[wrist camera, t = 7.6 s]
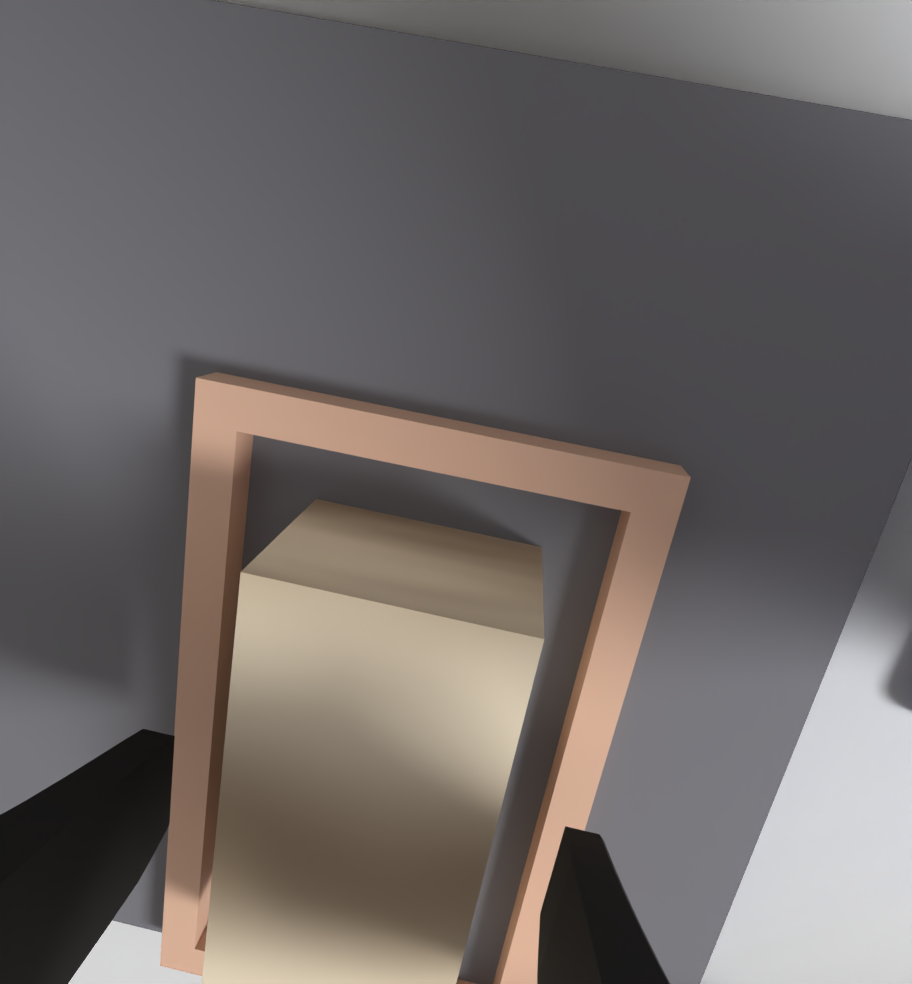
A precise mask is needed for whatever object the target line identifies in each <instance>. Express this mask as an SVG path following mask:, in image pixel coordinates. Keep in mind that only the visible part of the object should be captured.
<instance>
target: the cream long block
mask: <svg viewBox="0 0 912 984" xmlns="http://www.w3.org/2000/svg"><path fill="white" fill-rule="evenodd" d="M543 643H544V610H543V575H542V547H538V546H534V545H529V544H525V543H520V542H515V541H511V540H506V539H501V538H497V537H492V536H487V535H483V534H478V533H473V532H469V531H464V530H459V529H455V528H450V527H445V526H441V525H436V524H431V523H427V522H422V521H417V520H413V519H408V518H403V517H399V516H394V515H389V514H385V513H380V512H375V511H371V510H366V509H361V508H357V507H352V506H347V505H343V504H338V503H333V502H329V501H324V500H320V499H315V500H314V501H313V502H312V503H311V504H310V505H309V506H308V507H307V508H306V509H305V510H304V511H303V512H302V513H301V514H300V515H299V516H298V517H297V518H296V519H295V520H294V521H293V522H292V523H291V524H290V525H289V526H288V527H287V528H286V529H285V530H283V531H282V532H281V533H280V534H279V535H278V536H277V537H276V538H275V539H274V540H273V541H272V542H271V543H270V544H269V545H268V546H267V547H266V548H265V549H264V550H263V551H262V552H261V553H260V554H259V555H258V556H257V557H256V558H255V559H254V560H253V561H252V562H251V563H249V564H248V565H247V566H246V567H245V568H244V569H243V570H242V571H241V574H240V584H239V595H238V606H237V616H236V627H235V637H234V648H233V659H232V669H231V680H230V690H229V701H228V711H227V722H226V733H225V743H224V754H223V764H222V775H221V786H220V796H219V807H218V817H217V828H216V839H215V849H214V860H213V870H212V881H211V892H210V902H209V913H208V923H207V934H206V944H205V955H204V966H203V976H202V984H456V983H457V979H458V975H459V971H460V967H461V963H462V959H463V955H464V951H465V947H466V943H467V940H468V936H469V932H470V928H471V924H472V920H473V916H474V912H475V908H476V904H477V901H478V897H479V893H480V889H481V885H482V881H483V877H484V873H485V869H486V865H487V861H488V858H489V854H490V850H491V846H492V842H493V838H494V834H495V830H496V826H497V822H498V818H499V815H500V811H501V807H502V803H503V799H504V795H505V791H506V787H507V783H508V779H509V776H510V772H511V768H512V764H513V760H514V756H515V752H516V748H517V744H518V740H519V736H520V733H521V729H522V725H523V721H524V717H525V713H526V709H527V705H528V701H529V697H530V693H531V690H532V686H533V682H534V678H535V674H536V670H537V666H538V662H539V658H540V654H541V651H542V647H543Z"/></svg>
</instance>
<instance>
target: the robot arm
mask: <svg viewBox="0 0 912 984" xmlns="http://www.w3.org/2000/svg"><path fill="white" fill-rule="evenodd" d="M174 741H175V736H173V735H168V734H164V733H160V732H155V731H151V730H147V729H142V730H140V731H138V732H137V733H135V734H133V735H132V736H130V737H128V738H127V739H125V740H123V741H122V742H120V743H119V744H117V745H115V746H114V747H112V748H111V749H109V750H107V751H106V752H104V753H103V754H101V755H99V756H98V757H96V758H95V759H93V760H91V761H90V762H88V763H87V764H85V765H83V766H82V767H80V768H79V769H77V770H75V771H74V772H72V773H71V774H69V775H67V776H66V777H64V778H62V779H61V780H59V781H57V782H56V783H54V784H52V785H51V786H49V787H47V788H46V789H44V790H42V791H41V792H39V793H37V794H36V795H34V796H32V797H31V798H29V799H27V800H26V801H24V802H22V803H21V804H19V805H17V806H15V807H13V808H12V809H10V810H8V811H6V812H4V813H2V814H1V815H0V984H68V983H69V981H70V980H71V978H72V977H73V975H74V974H75V973H76V971H77V970H78V968H79V967H80V965H81V964H82V963H83V961H84V960H85V958H86V957H87V955H88V954H89V953H90V951H91V950H92V948H93V947H94V945H95V944H96V943H97V941H98V940H99V938H100V937H101V935H102V934H103V933H104V931H105V930H106V928H107V927H108V925H109V924H110V922H111V921H112V920H113V918H114V917H115V915H116V914H117V912H118V911H119V909H120V908H121V906H122V905H123V904H124V902H125V901H126V899H127V898H128V896H129V895H130V893H131V892H132V890H133V889H134V887H135V886H136V885H137V883H138V882H139V880H140V878H141V876H142V874H143V873H144V871H145V869H146V867H147V866H148V864H149V862H150V860H151V858H152V857H153V855H154V853H155V851H156V849H157V847H158V845H159V843H160V842H161V840H162V838H163V836H164V834H165V832H166V830H167V828H168V826H169V823H170V806H171V790H172V773H173V757H174ZM537 984H670V982H669V980H668V978H667V976H666V974H665V973H664V971H663V969H662V967H661V965H660V963H659V961H658V959H657V957H656V955H655V953H654V951H653V949H652V947H651V945H650V943H649V941H648V939H647V937H646V935H645V933H644V931H643V929H642V927H641V925H640V923H639V921H638V918H637V916H636V914H635V912H634V910H633V908H632V906H631V903H630V901H629V899H628V897H627V894H626V892H625V890H624V888H623V886H622V883H621V881H620V879H619V876H618V874H617V872H616V869H615V867H614V865H613V862H612V860H611V857H610V855H609V852H608V850H607V847H606V845H605V842H604V840H603V839H602V837H601V836H600V834H597V833H592V832H588V831H584V830H579V829H575V828H571V827H566V826H565V829H564V832H563V836H562V839H561V843H560V846H559V850H558V853H557V857H556V860H555V864H554V867H553V871H552V874H551V877H550V881H549V884H548V888H547V891H546V895H545V898H544V902H543V905H542V909H541V912H540V926H539V945H538V970H537Z"/></svg>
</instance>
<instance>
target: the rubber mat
mask: <svg viewBox="0 0 912 984" xmlns="http://www.w3.org/2000/svg"><path fill="white" fill-rule="evenodd" d="M215 372H218V373H223V374H228V375H233V376H238V377H243V378H248V379H253V380H258V381H263V382H268V383H273V384H278V385H283V386H288V387H293V388H298V389H303V390H308V391H313V392H318V393H323V394H328V395H333V396H338V397H343V398H348V399H353V400H358V401H363V402H368V403H373V404H378V405H382V406H387V407H392V408H397V409H402V410H407V411H412V412H417V413H422V414H427V415H432V416H437V417H442V418H447V419H452V420H457V421H462V422H467V423H472V424H477V425H482V426H487V427H492V428H497V429H502V430H507V431H512V432H517V433H522V434H527V435H532V436H537V437H542V438H547V439H552V440H556V441H561V442H566V443H571V444H576V445H581V446H586V447H591V448H596V449H601V450H606V451H611V452H616V453H621V454H626V455H631V456H636V457H641V458H646V459H651V460H656V461H661V462H666V463H671V464H676V465H681V466H682V468H683V469H684V470H685V471H686V472H687V474H688V475H689V476H690V477H691V479H690V482H689V485H688V489H687V492H686V495H685V499H684V502H683V505H682V509H681V512H680V515H679V519H678V522H677V525H676V528H675V532H674V535H673V538H672V542H671V545H670V548H669V552H668V555H667V558H666V562H665V565H664V568H663V572H662V575H661V578H660V582H659V585H658V588H657V592H656V595H655V598H654V602H653V605H652V608H651V612H650V615H649V618H648V622H647V625H646V628H645V632H644V635H643V638H642V642H641V645H640V648H639V651H638V655H637V658H636V661H635V665H634V668H633V671H632V675H631V678H630V681H629V685H628V688H627V691H626V695H625V698H624V701H623V705H622V708H621V711H620V715H619V718H618V721H617V725H616V728H615V731H614V735H613V738H612V741H611V745H610V748H609V751H608V755H607V758H606V761H605V765H604V768H603V771H602V774H601V778H600V781H599V784H598V788H597V791H596V794H595V798H594V801H593V804H592V808H591V811H590V814H589V818H588V821H587V824H586V828H585V831H588V832H592V833H597V834H600V836H601V837H602V839H603V840H604V842H605V845H606V847H607V850H608V852H609V855H610V857H611V860H612V862H613V865H614V867H615V869H616V872H617V874H618V876H619V879H620V881H621V883H622V886H623V888H624V890H625V892H626V894H627V897H628V899H629V901H630V903H631V906H632V908H633V910H634V912H635V914H636V916H637V918H638V921H639V923H640V925H641V927H642V929H643V931H644V933H645V935H646V937H647V939H648V941H649V943H650V945H651V947H652V949H653V951H654V953H655V955H656V957H657V959H658V961H659V963H660V965H661V967H662V969H663V971H664V973H665V974H666V976H667V978H668V980H669V982H670V984H700V982H701V979H702V977H703V974H704V972H705V969H706V967H707V964H708V962H709V960H710V957H711V955H712V952H713V950H714V947H715V945H716V942H717V940H718V937H719V935H720V932H721V930H722V927H723V925H724V922H725V920H726V917H727V915H728V912H729V910H730V907H731V905H732V902H733V900H734V897H735V895H736V892H737V890H738V888H739V885H740V883H741V880H742V878H743V875H744V873H745V870H746V868H747V865H748V863H749V860H750V858H751V855H752V853H753V850H754V848H755V845H756V843H757V840H758V838H759V835H760V833H761V830H762V828H763V825H764V823H765V821H766V818H767V816H768V813H769V811H770V808H771V806H772V803H773V801H774V798H775V796H776V793H777V791H778V788H779V786H780V783H781V781H782V778H783V776H784V773H785V771H786V768H787V766H788V763H789V761H790V758H791V756H792V754H793V751H794V749H795V746H796V744H797V741H798V739H799V736H800V734H801V731H802V729H803V726H804V724H805V721H806V719H807V716H808V714H809V711H810V709H811V706H812V704H813V701H814V699H815V696H816V694H817V691H818V689H819V687H820V684H821V682H822V679H823V677H824V674H825V672H826V669H827V667H828V664H829V662H830V659H831V657H832V654H833V652H834V649H835V647H836V644H837V642H838V639H839V637H840V634H841V632H842V629H843V627H844V624H845V622H846V619H847V617H848V615H849V612H850V610H851V607H852V605H853V602H854V600H855V597H856V595H857V592H858V590H859V587H860V585H861V582H862V580H863V577H864V575H865V572H866V570H867V567H868V565H869V562H870V560H871V557H872V555H873V552H874V550H875V548H876V545H877V543H878V540H879V538H880V535H881V533H882V530H883V528H884V525H885V523H886V520H887V518H888V515H889V513H890V510H891V508H892V505H893V503H894V500H895V498H896V495H897V493H898V490H899V488H900V485H901V483H902V481H903V478H904V476H905V473H906V471H907V468H908V466H909V463H910V461H911V458H912V120H909V119H903V118H897V117H891V116H885V115H879V114H874V113H868V112H862V111H856V110H850V109H844V108H839V107H833V106H827V105H821V104H815V103H809V102H804V101H798V100H792V99H786V98H780V97H774V96H769V95H763V94H757V93H751V92H745V91H739V90H734V89H728V88H722V87H716V86H710V85H704V84H699V83H693V82H687V81H681V80H675V79H669V78H664V77H658V76H652V75H646V74H640V73H634V72H628V71H623V70H617V69H611V68H605V67H599V66H593V65H588V64H582V63H576V62H570V61H564V60H558V59H553V58H547V57H541V56H535V55H529V54H523V53H518V52H512V51H506V50H500V49H494V48H488V47H483V46H477V45H471V44H465V43H459V42H453V41H448V40H442V39H436V38H430V37H424V36H418V35H412V34H407V33H401V32H395V31H389V30H383V29H377V28H372V27H366V26H360V25H354V24H348V23H342V22H337V21H331V20H325V19H319V18H313V17H307V16H302V15H296V14H290V13H284V12H278V11H272V10H267V9H261V8H255V7H249V6H243V5H237V4H232V3H226V2H220V1H214V0H0V815H1V814H2V813H4V812H6V811H8V810H10V809H12V808H13V807H15V806H17V805H19V804H21V803H22V802H24V801H26V800H27V799H29V798H31V797H32V796H34V795H36V794H37V793H39V792H41V791H42V790H44V789H46V788H47V787H49V786H51V785H52V784H54V783H56V782H57V781H59V780H61V779H62V778H64V777H66V776H67V775H69V774H71V773H72V772H74V771H75V770H77V769H79V768H80V767H82V766H83V765H85V764H87V763H88V762H90V761H91V760H93V759H95V758H96V757H98V756H99V755H101V754H103V753H104V752H106V751H107V750H109V749H111V748H112V747H114V746H115V745H117V744H119V743H120V742H122V741H123V740H125V739H127V738H128V737H130V736H132V735H133V734H135V733H137V732H138V731H140V730H142V729H147V730H151V731H155V732H160V733H164V734H168V735H173V736H174V730H175V713H176V697H177V680H178V664H179V647H180V631H181V614H182V597H183V581H184V564H185V548H186V531H187V515H188V498H189V482H190V465H191V449H192V432H193V416H194V399H195V382H196V377H200V376H204V375H208V374H211V373H215ZM315 499H320V500H324V501H329V502H333V503H338V504H343V505H347V506H352V507H357V508H361V509H366V510H371V511H375V512H380V513H385V514H389V515H394V516H399V517H403V518H408V519H413V520H417V521H422V522H427V523H431V524H436V525H441V526H445V527H450V528H455V529H459V530H464V531H469V532H473V533H478V534H483V535H487V536H492V537H497V538H501V539H506V540H511V541H515V542H520V543H525V544H529V545H534V546H538V547H542V575H543V610H544V643H543V647H542V651H541V654H540V658H539V662H538V666H537V670H536V674H535V678H534V682H533V686H532V690H531V693H530V697H529V701H528V705H527V709H526V713H525V717H524V721H523V725H522V729H521V733H520V736H519V740H518V744H517V748H516V752H515V756H514V760H513V764H512V768H511V772H510V776H509V779H508V783H507V787H506V791H505V795H504V799H503V803H502V807H501V811H500V815H499V818H498V822H497V826H496V830H495V834H494V838H493V842H492V846H491V850H490V854H489V858H488V861H487V865H486V869H485V873H484V877H483V881H482V885H481V889H480V893H479V897H478V901H477V904H476V908H475V912H474V916H473V920H472V924H471V928H470V932H469V936H468V940H467V943H466V947H465V951H464V955H463V959H462V963H461V967H460V971H459V975H458V979H459V980H463V981H468V982H472V983H476V984H493V981H494V978H495V974H496V970H497V967H498V963H499V959H500V956H501V952H502V948H503V945H504V941H505V937H506V934H507V930H508V926H509V923H510V919H511V915H512V912H513V908H514V904H515V900H516V897H517V893H518V889H519V886H520V882H521V878H522V875H523V871H524V867H525V864H526V860H527V856H528V853H529V849H530V845H531V842H532V838H533V834H534V831H535V827H536V823H537V820H538V816H539V812H540V809H541V805H542V801H543V798H544V794H545V790H546V786H547V783H548V779H549V775H550V772H551V768H552V764H553V761H554V757H555V753H556V750H557V746H558V742H559V739H560V735H561V731H562V728H563V724H564V720H565V717H566V713H567V709H568V706H569V702H570V698H571V695H572V691H573V687H574V683H575V680H576V676H577V672H578V669H579V665H580V661H581V658H582V654H583V650H584V647H585V643H586V639H587V636H588V632H589V628H590V625H591V621H592V617H593V614H594V610H595V606H596V603H597V599H598V595H599V592H600V588H601V584H602V580H603V577H604V573H605V569H606V566H607V562H608V558H609V555H610V551H611V547H612V544H613V540H614V536H615V533H616V529H617V525H618V522H619V518H620V514H621V511H622V510H617V509H612V508H607V507H602V506H598V505H593V504H588V503H583V502H578V501H573V500H568V499H563V498H559V497H554V496H549V495H544V494H539V493H534V492H529V491H525V490H520V489H515V488H510V487H505V486H500V485H495V484H491V483H486V482H481V481H476V480H471V479H466V478H461V477H456V476H452V475H447V474H442V473H437V472H432V471H427V470H422V469H418V468H413V467H408V466H403V465H398V464H393V463H388V462H383V461H379V460H374V459H369V458H364V457H359V456H354V455H349V454H345V453H340V452H335V451H330V450H325V449H320V448H315V447H311V446H306V445H301V444H296V443H291V442H286V441H281V440H276V439H272V438H267V437H262V436H257V435H253V445H252V457H251V468H250V479H249V490H248V502H247V513H246V524H245V535H244V546H243V558H242V569H241V571H242V570H243V569H244V568H245V567H246V566H247V565H248V564H249V563H251V562H252V561H253V560H254V559H255V558H256V557H257V556H258V555H259V554H260V553H261V552H262V551H263V550H264V549H265V548H266V547H267V546H268V545H269V544H270V543H271V542H272V541H273V540H274V539H275V538H276V537H277V536H278V535H279V534H280V533H281V532H282V531H283V530H285V529H286V528H287V527H288V526H289V525H290V524H291V523H292V522H293V521H294V520H295V519H296V518H297V517H298V516H299V515H300V514H301V513H302V512H303V511H304V510H305V509H306V508H307V507H308V506H309V505H310V504H311V503H312V502H313V501H314V500H315ZM168 829H169V826H168V828H167V830H166V832H165V834H164V836H163V838H162V840H161V842H160V843H159V845H158V847H157V849H156V851H155V853H154V855H153V857H152V858H151V860H150V862H149V864H148V866H147V867H146V869H145V871H144V873H143V874H142V876H141V878H140V880H139V882H138V883H137V885H136V886H135V887H134V889H133V890H132V892H131V893H130V895H129V896H128V898H127V899H126V901H125V902H124V904H123V905H122V906H121V908H120V909H119V911H118V912H117V914H116V915H115V917H114V918H113V921H117V922H121V923H125V924H129V925H134V926H138V927H142V928H146V929H150V930H154V931H158V932H162V928H163V912H164V895H165V879H166V862H167V846H168Z"/></svg>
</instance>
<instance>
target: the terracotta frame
mask: <svg viewBox="0 0 912 984" xmlns="http://www.w3.org/2000/svg"><path fill="white" fill-rule="evenodd" d="M253 435H257V436H262V437H267V438H272V439H276V440H281V441H286V442H291V443H296V444H301V445H306V446H311V447H315V448H320V449H325V450H330V451H335V452H340V453H345V454H349V455H354V456H359V457H364V458H369V459H374V460H379V461H383V462H388V463H393V464H398V465H403V466H408V467H413V468H418V469H422V470H427V471H432V472H437V473H442V474H447V475H452V476H456V477H461V478H466V479H471V480H476V481H481V482H486V483H491V484H495V485H500V486H505V487H510V488H515V489H520V490H525V491H529V492H534V493H539V494H544V495H549V496H554V497H559V498H563V499H568V500H573V501H578V502H583V503H588V504H593V505H598V506H602V507H607V508H612V509H617V510H622V511H621V514H620V518H619V522H618V525H617V529H616V533H615V536H614V540H613V544H612V547H611V551H610V555H609V558H608V562H607V566H606V569H605V573H604V577H603V580H602V584H601V588H600V592H599V595H598V599H597V603H596V606H595V610H594V614H593V617H592V621H591V625H590V628H589V632H588V636H587V639H586V643H585V647H584V650H583V654H582V658H581V661H580V665H579V669H578V672H577V676H576V680H575V683H574V687H573V691H572V695H571V698H570V702H569V706H568V709H567V713H566V717H565V720H564V724H563V728H562V731H561V735H560V739H559V742H558V746H557V750H556V753H555V757H554V761H553V764H552V768H551V772H550V775H549V779H548V783H547V786H546V790H545V794H544V798H543V801H542V805H541V809H540V812H539V816H538V820H537V823H536V827H535V831H534V834H533V838H532V842H531V845H530V849H529V853H528V856H527V860H526V864H525V867H524V871H523V875H522V878H521V882H520V886H519V889H518V893H517V897H516V900H515V904H514V908H513V912H512V915H511V919H510V923H509V926H508V930H507V934H506V937H505V941H504V945H503V948H502V952H501V956H500V959H499V963H498V967H497V970H496V974H495V978H494V981H493V984H537V970H538V945H539V926H540V912H541V909H542V905H543V902H544V898H545V895H546V891H547V888H548V884H549V881H550V877H551V874H552V871H553V867H554V864H555V860H556V857H557V853H558V850H559V846H560V843H561V839H562V836H563V832H564V829H565V826H566V827H571V828H575V829H579V830H584V831H585V828H586V824H587V821H588V818H589V814H590V811H591V808H592V804H593V801H594V798H595V794H596V791H597V788H598V784H599V781H600V778H601V774H602V771H603V768H604V765H605V761H606V758H607V755H608V751H609V748H610V745H611V741H612V738H613V735H614V731H615V728H616V725H617V721H618V718H619V715H620V711H621V708H622V705H623V701H624V698H625V695H626V691H627V688H628V685H629V681H630V678H631V675H632V671H633V668H634V665H635V661H636V658H637V655H638V651H639V648H640V645H641V642H642V638H643V635H644V632H645V628H646V625H647V622H648V618H649V615H650V612H651V608H652V605H653V602H654V598H655V595H656V592H657V588H658V585H659V582H660V578H661V575H662V572H663V568H664V565H665V562H666V558H667V555H668V552H669V548H670V545H671V542H672V538H673V535H674V532H675V528H676V525H677V522H678V519H679V515H680V512H681V509H682V505H683V502H684V499H685V495H686V492H687V489H688V485H689V482H690V479H691V477H690V476H689V475H688V474H687V472H686V471H685V470H684V469H683V468H682V466H681V465H676V464H671V463H666V462H661V461H656V460H651V459H646V458H641V457H636V456H631V455H626V454H621V453H616V452H611V451H606V450H601V449H596V448H591V447H586V446H581V445H576V444H571V443H566V442H561V441H556V440H552V439H547V438H542V437H537V436H532V435H527V434H522V433H517V432H512V431H507V430H502V429H497V428H492V427H487V426H482V425H477V424H472V423H467V422H462V421H457V420H452V419H447V418H442V417H437V416H432V415H427V414H422V413H417V412H412V411H407V410H402V409H397V408H392V407H387V406H382V405H378V404H373V403H368V402H363V401H358V400H353V399H348V398H343V397H338V396H333V395H328V394H323V393H318V392H313V391H308V390H303V389H298V388H293V387H288V386H283V385H278V384H273V383H268V382H263V381H258V380H253V379H248V378H243V377H238V376H233V375H228V374H223V373H218V372H215V373H211V374H208V375H204V376H200V377H196V382H195V399H194V416H193V432H192V449H191V465H190V482H189V498H188V515H187V531H186V548H185V564H184V581H183V597H182V614H181V631H180V647H179V664H178V680H177V697H176V713H175V730H174V736H175V741H174V757H173V773H172V790H171V806H170V823H169V829H168V846H167V862H166V879H165V895H164V912H163V928H162V945H161V961H160V966H164V967H168V968H172V969H176V970H180V971H184V972H188V973H192V974H196V975H200V976H203V966H204V955H205V944H206V934H207V923H208V913H209V902H210V892H211V881H212V870H213V860H214V849H215V839H216V828H217V817H218V807H219V796H220V786H221V775H222V764H223V754H224V743H225V733H226V722H227V711H228V701H229V690H230V680H231V669H232V659H233V648H234V637H235V627H236V616H237V606H238V595H239V584H240V574H241V569H242V558H243V546H244V535H245V524H246V513H247V502H248V490H249V479H250V468H251V457H252V445H253ZM456 984H476V983H472V982H468V981H463V980H459V979H457V983H456Z"/></svg>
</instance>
